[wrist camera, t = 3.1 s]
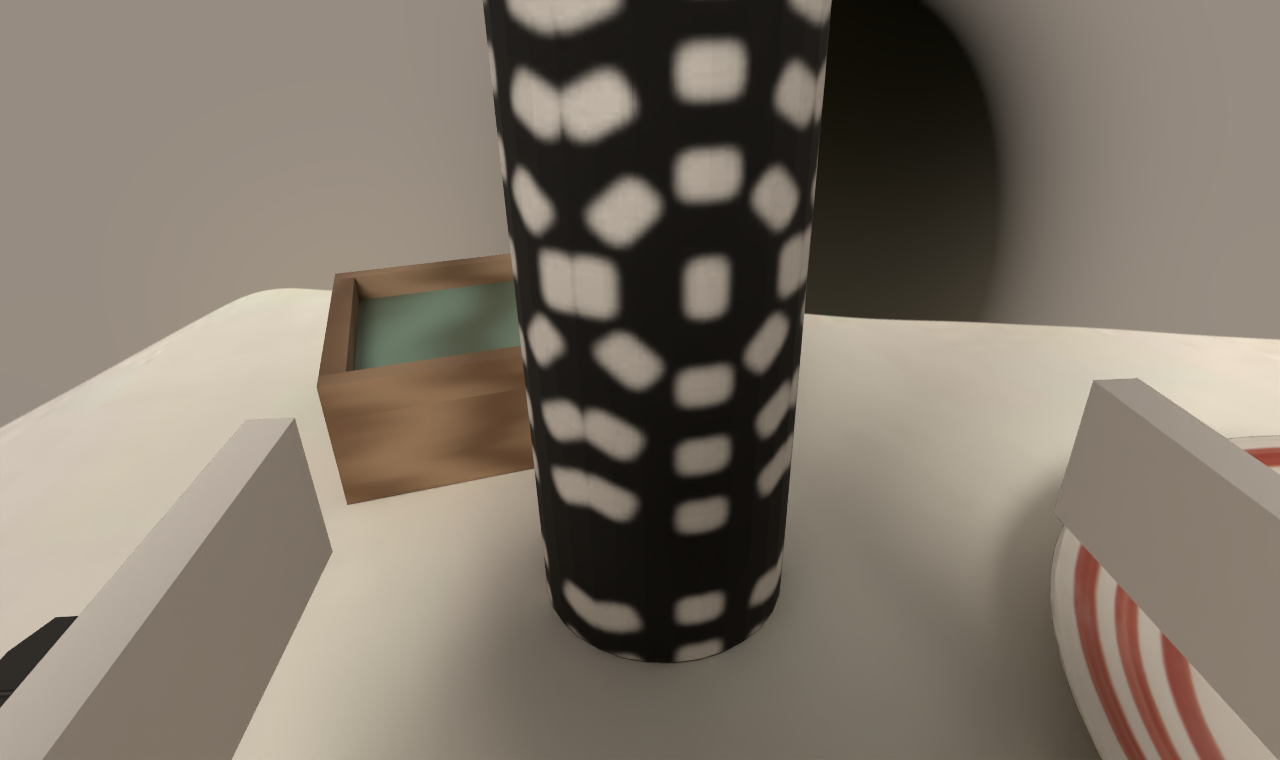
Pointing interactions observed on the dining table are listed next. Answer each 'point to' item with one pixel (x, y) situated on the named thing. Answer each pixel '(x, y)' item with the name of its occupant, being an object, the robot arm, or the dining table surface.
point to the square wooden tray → (424, 377)
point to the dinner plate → (1140, 664)
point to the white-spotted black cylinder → (660, 299)
